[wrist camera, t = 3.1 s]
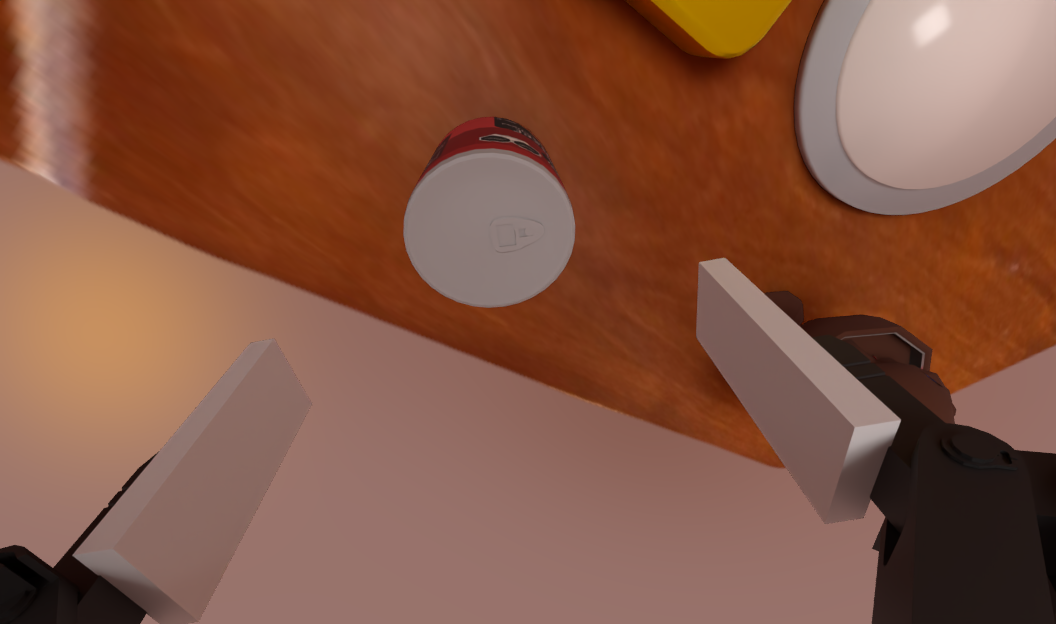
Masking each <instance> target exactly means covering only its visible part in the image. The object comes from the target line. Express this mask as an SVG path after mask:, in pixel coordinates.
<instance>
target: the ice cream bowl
mask: <svg viewBox="0 0 1056 624" xmlns="http://www.w3.org/2000/svg"><path fill="white" fill-rule="evenodd" d="M765 295H766V296H767V297H768V298H769V299H770V300H771V301H772V302H773V303H775V304H776V305H777V306H778V307H779V308H780V309H781V310H782V311H783V312H784V313H785V314H787V315H788V316H789V317H790V318H791V319H792V320H793V321H794V322H795V323H796V324H797V325H799V326H800V325H801V323H802V322H803V320H804V316H803V304H802V302H801V300H800V299H798V298H797V297H795V296H794V295H793V294H791V293H790V292H788V291H780V292H769V293H765ZM800 327H801V328H802V329H803V330H804V331H805V332H806V333H807V334H808V335H809V336H810V337H817V336H823V335H831V336H834V337H836V338H838V339H840V340H842V341H844V342H846V343H849V344H851V345H853V346H854V347H855V348H856V349H858V350H859V351H860V352H861V353H862V354H864V355H865V356H866V357H867V358H868V359H870V362H871V363H874V364H876V365H877V366H878V367H879V368H880V369H882V370H883V371H884V372H885V375H886V376H888V375H889V376H890V377H891V378H892V379H894V380H895V381H896V382H897V383H898V384H900V385H901V386H902V387H903V388H904V389H906V390H907V391H908V392H909V393H910V394H912V395H913V396H914V397H915V398H916V399H918V400H919V401H920V402H921V403H922V404H924V405H925V406H926V407H927V408H928V409H930V410H931V411H932V412H933V413H934V414H936V415H937V416H938V417H939V418H940V419H941V420H943V421H944V422H945V423H951V424H955V422H954V416H955V413H956V408H955V407H954V405H953V404H952V400H951V396H950V392H949V390H948V389H947V388H946V387H945V386H944V384H943V383H942V381H941V379H940V378H939V376H938V375H937V374H936V373H933V372H930V371H929V370H930V363H931V356H932V349H931V348H930V347H928V346H927V345H926V344H924V343H923V342H922V341H920V340H919V339H918V338H916V337H915V336H914V335H912V334H911V333H910V332H908V331H907V330H905V329H904V328H903V327H901V326H899V325H897V324H894V323H892V322H890V321H887V320H885V319H883V318H880V317H874V316H867V315H851V316H840V317H828V318H818V319H814V320H811V321H808V322H806V323H804V324H803V325H801V326H800Z"/></svg>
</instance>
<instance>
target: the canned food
mask: <svg viewBox="0 0 1056 624" xmlns="http://www.w3.org/2000/svg"><path fill="white" fill-rule="evenodd" d="M404 240H405V246H406V250H407V253H408V255H409V258H410V260H411V262H412V265H413V266H414V267H415V269H416V270H417V272H418V273H419V275H420V276H421V277H422V278H423V279H424V280H425V281H426V282H427V283H428V284H429V285H430V286H431V287H432V288H433V289H435V290H436V291H438V292H439V293H441V294H442V295H444V296H446V297H448V298H450V299H452V300H454V301H457V302H459V303H463V304H467V305H471V306H477V307H487V308H490V307H504V306H508V305H513V304H517V303H520V302H522V301H525V300H527V299H530V298H532V297H534V296H535V295H537V294H538V293H540V292H542V291H543V290H545V289H546V288H547V287H548V286H549V285H550V284H551V283H553V282H554V281H555V280H556V279H557V277H558V276H559V275H560V273H561V272H562V271H563V269H564V268H565V266H566V264H567V262H568V260H569V258H570V256H571V253H572V249H573V245H574V241H575V220H574V215H573V210H572V205H571V203H570V200H569V197H568V195H567V193H566V190H565V188H564V186H563V184H562V182H561V180H560V178H559V176H558V174H557V172H556V170H555V168H554V166H553V163H552V161H551V159H550V157H549V155H548V153H547V151H546V149H545V148H544V146H543V145H542V143H541V142H540V141H539V139H538V138H537V137H536V136H535V135H534V134H533V133H532V132H531V131H530V130H528V129H527V128H525V127H524V126H522V125H520V124H519V123H516V122H514V121H511V120H508V119H504V118H497V117H482V118H477V119H474V120H470V121H467V122H465V123H463V124H461V125H459V126H457V127H456V128H455V129H453V130H452V131H451V132H450V133H448V134H447V135H446V137H445V138H444V139H443V140H442V141H441V143H440V144H439V146H438V147H437V149H436V151H435V153H434V154H433V156H432V158H431V159H430V161H429V163H428V165H427V166H426V168H425V170H424V172H423V173H422V175H421V177H420V179H419V180H418V182H417V184H416V186H415V188H414V190H413V192H412V195H411V197H410V198H409V201H408V205H407V209H406V212H405V218H404Z"/></svg>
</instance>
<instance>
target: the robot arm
mask: <svg viewBox="0 0 1056 624" xmlns="http://www.w3.org/2000/svg"><path fill="white" fill-rule="evenodd" d="M696 338H697V339H698V341H699V342H700V344H701V345H702V346H703V348H704V349H705V351H706V352H707V354H708V355H709V357H710V358H711V359H712V361H713V362H714V364H715V365H716V367H717V368H718V370H719V371H720V373H721V374H722V375H723V377H724V378H725V380H726V381H727V383H728V384H729V386H730V387H731V389H732V390H733V391H734V393H735V394H736V396H737V397H738V399H739V400H740V402H741V403H742V404H743V406H744V407H745V409H746V410H747V412H748V413H749V415H750V416H751V418H752V419H753V420H754V422H755V423H756V425H757V426H758V428H759V429H760V431H761V432H762V434H763V435H764V436H765V438H766V439H767V441H768V442H769V444H770V445H771V447H772V448H773V449H774V451H775V452H776V454H777V455H778V457H779V458H780V460H781V461H782V463H783V464H784V465H785V467H786V468H787V470H788V471H789V473H790V474H791V476H792V477H793V479H794V480H795V481H796V483H797V484H798V486H799V487H800V489H801V490H802V492H803V493H804V494H805V496H806V497H807V499H808V500H809V502H810V503H811V505H812V506H813V507H814V509H815V510H816V512H817V513H818V515H819V516H820V517H821V519H822V521H823V522H824V523H825V524H829V523H835V522H841V521H848V520H854V519H861V518H864V516H865V513H866V510H867V508H868V505H869V502H870V500H872V501H873V502H874V503H875V505H876V506H877V507H878V508H879V509H880V511H881V512H882V513H883V514H884V515H885V520H884V522H883V524H882V527H881V529H880V532H879V534H878V536H877V538H876V541H875V543H874V546H873V548H872V549H875V550H877V551H879V557H878V567H877V578H876V587H875V597H874V608H873V617H872V624H1056V454H1053V453H1042V452H1030V451H1019V450H1014V449H1013V448H1012V447H1011V446H1010V445H1008V444H1007V443H1005V442H1004V441H1002V440H1000V439H998V438H996V437H995V436H993V435H991V434H989V433H987V432H984V431H981V430H978V429H975V428H972V427H969V426H963V425H958V424H951V423H945V422H944V421H943V420H941V419H940V418H939V417H938V416H937V415H936V414H934V413H933V412H932V411H931V410H930V409H928V408H927V407H926V406H925V405H924V404H922V403H921V402H920V401H919V400H918V399H916V398H915V397H914V396H913V395H912V394H910V393H909V392H908V391H907V390H906V389H904V388H903V387H902V386H901V385H900V384H898V383H897V382H896V381H895V380H894V379H892V378H891V377H890V376H889V375H888V376H886V375H885V372H884V371H883V370H882V369H880V368H879V367H878V366H877V365H876V364H874V363H871V362H870V359H868V358H867V357H866V356H865V355H864V354H862V353H861V352H860V351H859V350H858V349H856V348H855V347H854V346H853V345H851V344H849V343H846V342H844V341H842V340H840V339H838V338H836V337H834V336H831V335H823V336H817V337H810V336H809V335H808V334H807V333H806V332H805V331H804V330H803V329H802V328H801V327H800V326H799V325H797V324H796V323H795V322H794V321H793V320H792V319H791V318H790V317H789V316H788V315H787V314H785V313H784V312H783V311H782V310H781V309H780V308H779V307H778V306H777V305H776V304H775V303H773V302H772V301H771V300H770V299H769V298H768V297H767V296H766V295H765V294H764V293H763V292H762V291H760V290H759V289H758V288H757V287H756V286H755V285H754V284H753V283H752V282H751V281H750V280H748V279H747V278H746V277H745V276H744V275H743V274H742V273H741V272H740V271H739V270H738V269H737V268H735V267H734V266H733V265H732V264H731V263H730V262H729V261H728V260H727V259H726V258H720V259H715V260H709V261H704V262H699V277H698V304H697V330H696ZM311 405H312V403H311V401H310V399H309V397H308V396H307V394H306V392H305V391H304V389H303V387H302V385H301V384H300V382H299V380H298V378H297V377H296V375H295V373H294V372H293V370H292V368H291V367H290V365H289V363H288V361H287V359H286V358H285V356H284V354H283V353H282V351H281V349H280V347H279V346H278V344H277V342H276V340H275V339H269V340H263V341H258V342H252V343H250V344H249V345H248V346H247V348H246V349H245V350H244V351H243V353H242V354H241V355H240V356H239V357H238V358H237V359H236V361H235V362H234V363H233V364H232V365H231V367H230V368H229V369H228V371H226V373H225V374H224V375H223V376H222V377H221V379H220V380H219V381H218V382H217V383H216V385H215V386H214V387H213V388H212V389H211V391H210V392H209V393H208V394H207V395H206V396H205V398H204V399H203V400H202V401H201V402H200V404H199V405H198V406H197V407H196V408H195V410H194V411H193V412H192V413H191V414H190V416H189V417H188V418H187V419H186V420H185V422H184V423H183V424H182V425H181V426H180V427H179V429H178V430H177V431H176V432H175V433H174V435H173V436H172V437H171V438H170V439H169V441H168V442H167V443H166V444H165V445H164V447H163V448H162V449H161V450H160V451H159V452H158V453H157V454H155V455H154V456H153V457H152V458H150V459H149V460H148V461H147V462H146V463H144V464H143V465H142V466H141V467H139V469H137V471H136V472H135V473H134V474H133V475H132V476H131V478H130V479H129V480H128V481H127V482H126V483H125V485H124V486H123V487H122V491H119V492H118V493H117V494H116V495H115V496H114V498H113V499H112V500H111V501H110V502H109V503H108V505H109V506H108V507H107V508H104V509H103V510H102V511H101V513H100V514H99V515H98V516H97V517H96V519H95V520H94V521H93V522H92V523H91V524H90V526H89V527H88V528H87V529H86V530H85V531H84V533H83V534H82V535H81V536H80V537H79V538H78V540H77V541H76V542H75V543H74V544H73V546H72V547H71V548H70V549H69V550H68V551H67V553H66V554H65V555H64V556H63V557H62V558H61V560H60V561H59V562H58V563H57V564H56V565H55V566H54V568H52V567H51V566H49V565H48V564H46V563H45V562H44V561H42V560H41V559H40V558H38V557H37V556H36V555H34V554H33V553H32V552H30V551H29V550H28V549H26V548H25V547H22V546H17V545H13V546H9V547H5V548H2V549H0V624H140V623H141V621H142V620H143V618H144V617H145V615H146V613H147V614H148V615H149V616H150V617H152V618H153V619H154V620H156V621H157V622H158V623H160V624H188V623H194V622H199V620H200V618H201V616H202V614H203V612H204V610H205V609H206V607H207V605H208V603H209V601H210V599H211V596H212V595H213V593H214V591H215V589H216V588H217V586H218V584H219V582H220V580H221V578H222V576H223V574H224V572H225V570H226V568H227V566H228V564H229V562H230V561H231V559H232V557H233V555H234V553H235V551H236V549H237V547H238V545H239V543H240V541H241V540H242V538H243V536H244V533H245V532H246V530H247V528H248V526H249V524H250V522H251V520H252V518H253V516H254V514H255V513H256V511H257V509H258V507H259V505H260V503H261V501H262V499H263V497H264V495H265V493H266V491H267V490H268V488H269V486H270V484H271V482H272V480H273V478H274V476H275V474H276V472H277V470H278V468H279V467H280V465H281V463H282V461H283V459H284V457H285V455H286V453H287V451H288V449H289V447H290V445H291V443H292V441H293V439H294V438H295V436H296V434H297V432H298V430H299V428H300V426H301V424H302V422H303V420H304V418H305V417H306V414H307V413H308V411H309V409H310V407H311Z"/></svg>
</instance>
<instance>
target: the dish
mask: <svg viewBox="0 0 1056 624" xmlns="http://www.w3.org/2000/svg"><path fill="white" fill-rule="evenodd" d="M794 121H795V132H796V137H797V142H798V147H799V149H800V152H801V155H802V158H803V161H804V163H805V165H806V166H807V168H808V170H809V172H810V173H811V175H812V177H813V178H814V179H815V180H816V181H817V182H818V184H819V185H820V186H821V187H822V188H823V189H824V190H826V191H827V192H828V193H829V194H831V195H832V196H833V197H835V198H837V199H839V200H841V201H843V202H845V203H846V204H849V205H851V206H853V207H855V208H858V209H861V210H864V211H867V212H871V213H877V214H884V215H907V214H915V213H922V212H926V211H930V210H935V209H939V208H942V207H945V206H948V205H951V204H954V203H956V202H959V201H961V200H964V199H966V198H968V197H970V196H973V195H975V194H977V193H979V192H981V191H983V190H985V189H986V188H988V187H990V186H992V185H994V184H995V183H997V182H999V181H1000V180H1002V179H1003V178H1005V177H1006V176H1008V175H1010V174H1011V173H1013V172H1014V171H1016V170H1017V169H1019V168H1020V167H1021V166H1023V165H1024V164H1025V163H1026V162H1028V161H1029V160H1030V159H1032V158H1033V157H1034V156H1036V155H1037V154H1038V153H1039V152H1041V151H1042V150H1043V149H1044V148H1045V147H1046V146H1047V145H1048V144H1050V143H1051V142H1052V141H1053V140H1054V139H1055V138H1056V0H824V2H823V4H822V6H821V8H820V10H819V12H818V14H817V16H816V19H815V21H814V24H813V26H812V28H811V31H810V33H809V36H808V39H807V42H806V45H805V48H804V52H803V55H802V58H801V61H800V66H799V71H798V76H797V81H796V88H795V100H794Z"/></svg>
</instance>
